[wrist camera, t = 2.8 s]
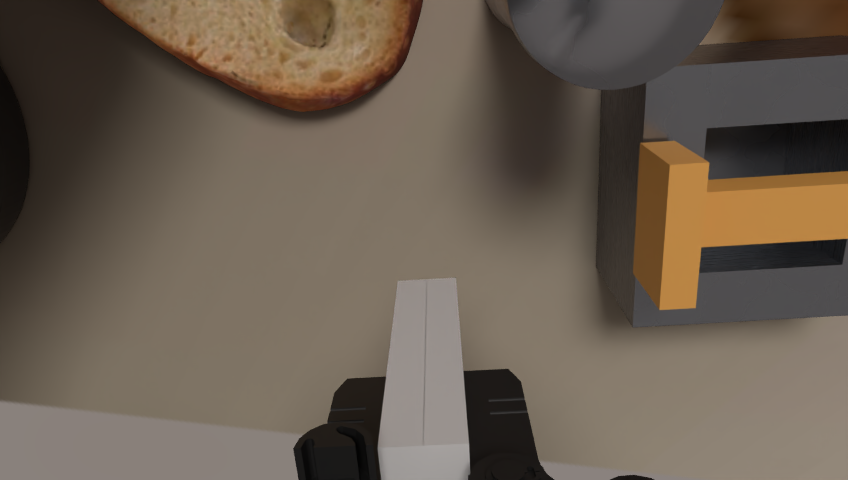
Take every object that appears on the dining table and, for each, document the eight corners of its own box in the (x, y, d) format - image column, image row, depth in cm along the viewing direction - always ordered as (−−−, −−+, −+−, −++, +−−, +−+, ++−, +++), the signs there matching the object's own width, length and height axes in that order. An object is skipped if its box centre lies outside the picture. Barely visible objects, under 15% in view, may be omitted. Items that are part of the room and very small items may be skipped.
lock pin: (632, 273, 24) (659, 309, 22) (640, 142, 23) (669, 165, 20) (881, 258, 24) (940, 294, 21) (908, 125, 22) (976, 145, 20)
